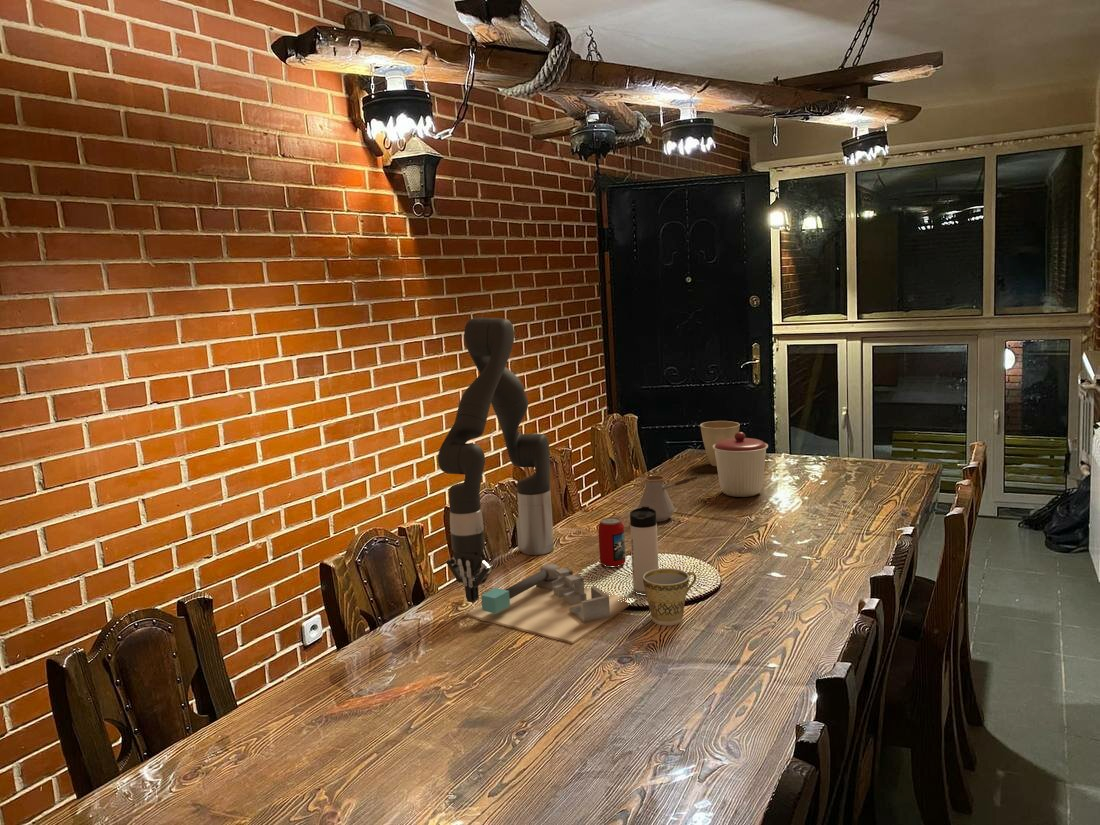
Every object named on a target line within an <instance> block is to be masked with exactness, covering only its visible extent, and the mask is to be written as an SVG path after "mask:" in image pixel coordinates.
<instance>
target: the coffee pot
mask: <svg viewBox="0 0 1100 825" xmlns="http://www.w3.org/2000/svg"><path fill="white" fill-rule="evenodd" d="M699 478H700V481H699ZM643 480H644V481H645V483H646V485H645V488H644V491H643V493H642V496H641V498H640V501H639V503H638V507H637V509H638V508H642V506H644V507H649V508H651V509H654V510H655V511H656V522H665V521H667V520H669V519H670V517H672V516H673V515H674V513H675V509H676V508H675V505H674V504H673V502H672V499H671V498H670V496H669V494H668V492H667V490H668V489H670V488H673V487H677V486H681V485H685V484H687V483H689V482H691V481H695V480H697V482H698V483H700V482H702V477H701V476H700V475H695V476H691V477H690V478H689V477H688V478H685V479H681V480H679V481H677V482H674V483H672V484H669V485H666V486H665V485H664V481H665V480H666V477H665V476H663V475H648V476H646V477H644V478H643Z"/></svg>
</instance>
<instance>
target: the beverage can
mask: <svg viewBox="0 0 1100 825" xmlns="http://www.w3.org/2000/svg"><path fill="white" fill-rule="evenodd" d="M625 541H626V540H625V526H624V523H623V522H622V519H621V518H619V517H616V516H615V517H611V516H610V517H609V516H608V517H604V518H602V519H600V522H599V524H598V547H599V550H598V551H599V563H601V565H603V566H604V565H606V566H618V565H621V566H622V565H623V564H625V563H626V542H625ZM606 566H605V567H606Z"/></svg>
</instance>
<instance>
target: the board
mask: <svg viewBox="0 0 1100 825" xmlns="http://www.w3.org/2000/svg"><path fill="white" fill-rule="evenodd" d="M561 584H564V576H562V577H560V576H559V577H558V578H556V579H552V580H544V581H542V582H540V583H538V584H537V585H535V586H533V587H531V588H529V589H527V590H526V591H524V592H522V593H520V594H518V595H516V596H515V597H513V598H511V599H510V606H509V607H507V608H505V609H504V610H502V611H500V612H498V613H496V614H495V613H491V612H487V611H483V610H482V604H481V605H480V606H478V607H476V608H474V609H472V610H470V611H468V612H466V613H465V617H469V618H473V619H477V620H481V621H484V622H489V623H492V624H496V625H499V626H503V627H508V628H511V629H514V630H519V631H523V632H525V633H526V632H527V633H530V634H533V635H538V636H540V637H541V636H542V637H544V638H546V637H547V638H550V639H553V640H555V641H556V640H558V641H561V642H565V643H568V644H572V645H573V644H576V642H578V641H579V640H581V639H582V638H584V637H585V636H587V635H588V634H590V633H591V632H593V631H594V630H595V629H597V628H598V627H600V626H602V625H603V624H604V623H606V622H608V621H610V619H612V618H613V617H615V616H617V615H618V614H619V613H620V612H622V611H624V610H626V609H627V608H628V607H629V606H628V604H630V603H627V602H625V601H626V600H627V597H629V598H630V597H631V596H627V597H625V596H626V595H621V596H619V597H618V595H619V594H617V595H615V594H616V593H612V592H607V591H606V592H607V595H608V596H609V595H610V596H609V606H610V618H606V619H601V620H597V621H593V622H589V623H585V624H584V623H583V622H581V621H580V620H579V619H578V618H576V617H575V616H574V615H573V614H572V613H570V608H571V607H575V606H580V605H581V603H578V604H574V605H568V604H567V603H566V602H564V597H561V598H559V597H557V596H556V595H555V594H554V588H553V586H557V585H561ZM584 592H585V593H586V597H587V600H589V599H591V588H589V587H584ZM609 593H610V594H609ZM611 593H612V594H613V595H612V594H611ZM605 594H606V593H605ZM623 596H624V597H623ZM618 598H619V599H618ZM623 598H624V599H623ZM625 598H626V600H625ZM631 598H633V597H631ZM620 599H622V600H620ZM618 600H619V601H618ZM623 600H624V601H623ZM628 600H629V599H628ZM621 601H622V602H621Z"/></svg>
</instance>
